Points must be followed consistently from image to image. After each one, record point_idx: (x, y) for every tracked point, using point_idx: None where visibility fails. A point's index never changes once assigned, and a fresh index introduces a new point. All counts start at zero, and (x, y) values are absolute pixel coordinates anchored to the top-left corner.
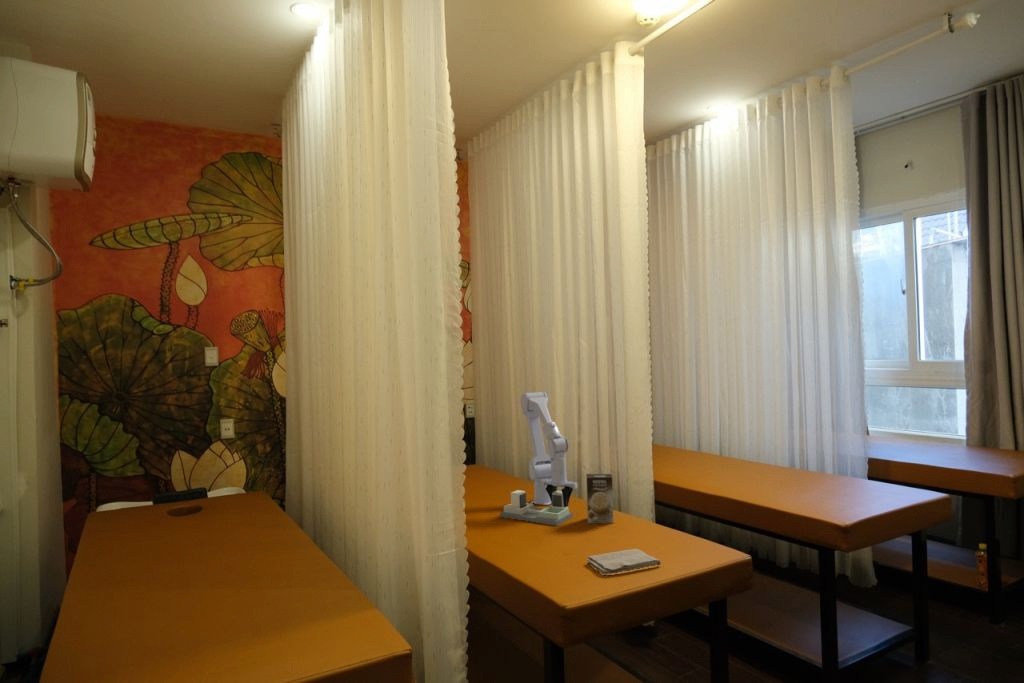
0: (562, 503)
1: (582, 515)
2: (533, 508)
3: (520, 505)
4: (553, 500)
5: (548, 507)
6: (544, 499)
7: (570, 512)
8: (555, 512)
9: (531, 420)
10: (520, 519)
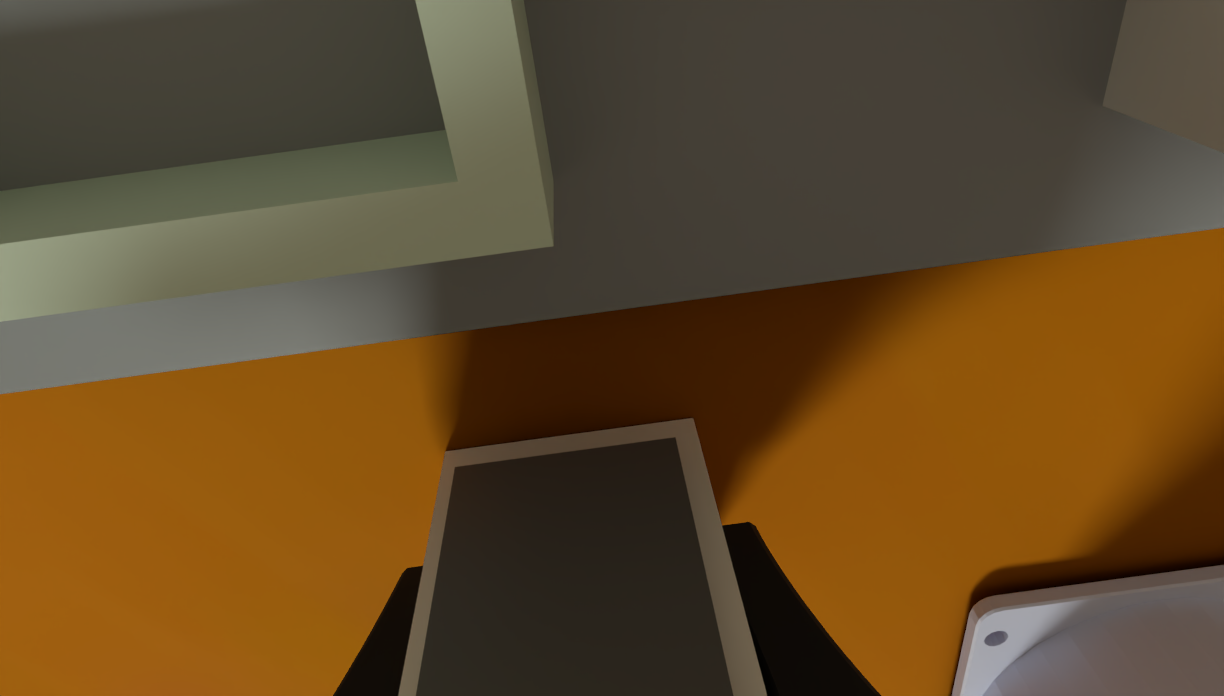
0: (429, 607)
1: (6, 508)
2: (1122, 98)
3: None
4: (681, 597)
5: (432, 46)
6: (1098, 692)
7: (27, 385)
8: (297, 151)
9: None
10: None
